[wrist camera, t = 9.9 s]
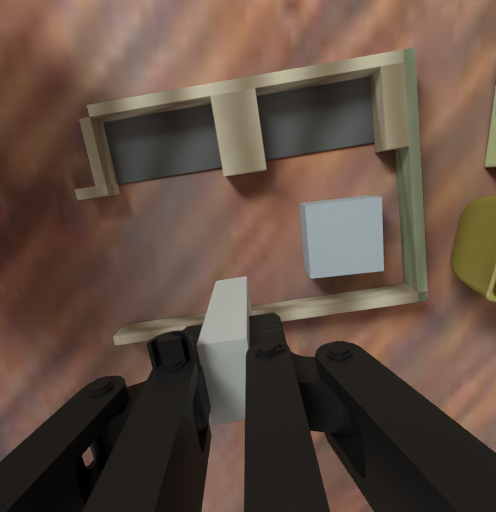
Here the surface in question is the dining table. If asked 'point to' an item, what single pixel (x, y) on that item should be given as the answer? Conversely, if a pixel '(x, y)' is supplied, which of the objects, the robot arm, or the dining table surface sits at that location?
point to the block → (342, 236)
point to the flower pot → (477, 247)
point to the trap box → (271, 152)
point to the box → (492, 140)
